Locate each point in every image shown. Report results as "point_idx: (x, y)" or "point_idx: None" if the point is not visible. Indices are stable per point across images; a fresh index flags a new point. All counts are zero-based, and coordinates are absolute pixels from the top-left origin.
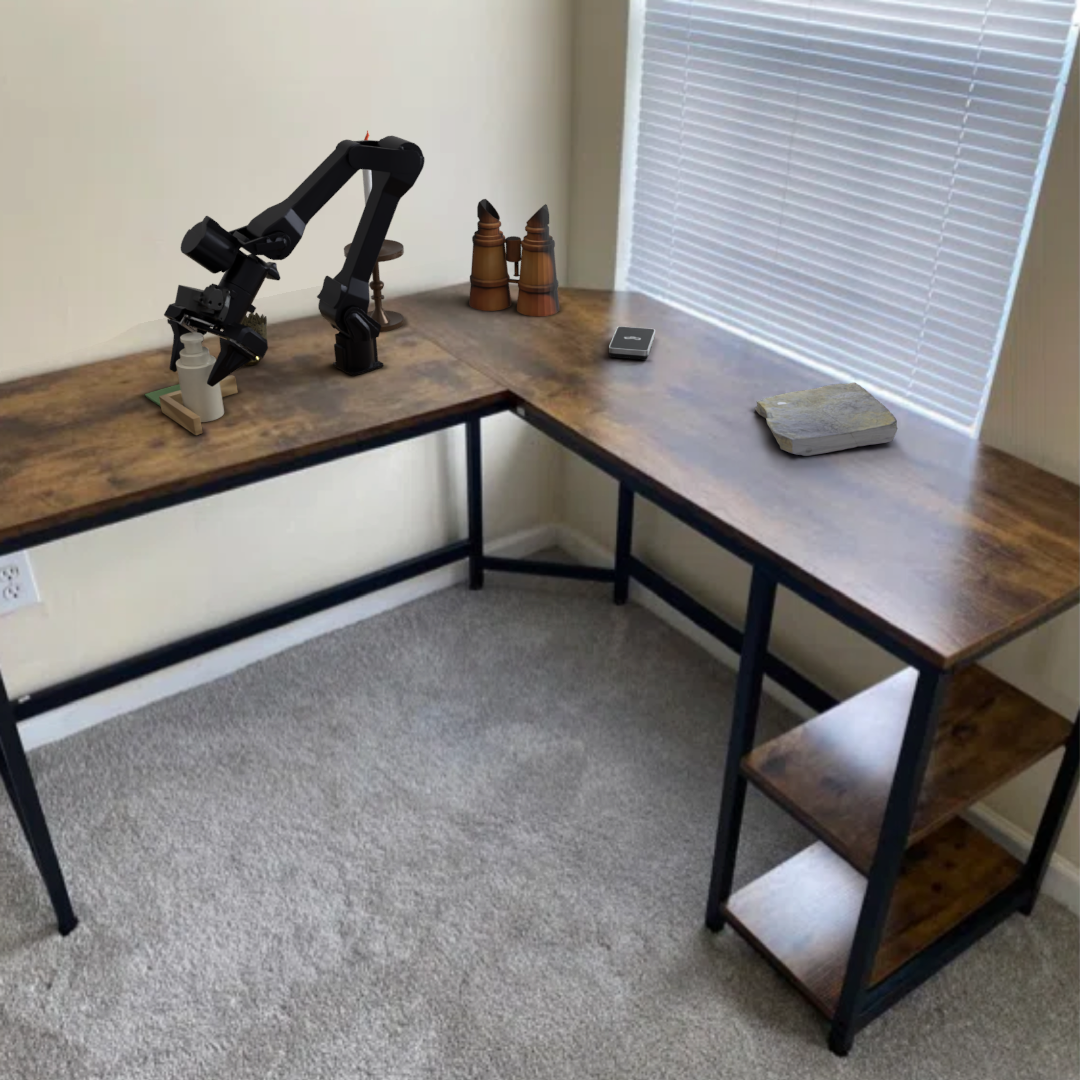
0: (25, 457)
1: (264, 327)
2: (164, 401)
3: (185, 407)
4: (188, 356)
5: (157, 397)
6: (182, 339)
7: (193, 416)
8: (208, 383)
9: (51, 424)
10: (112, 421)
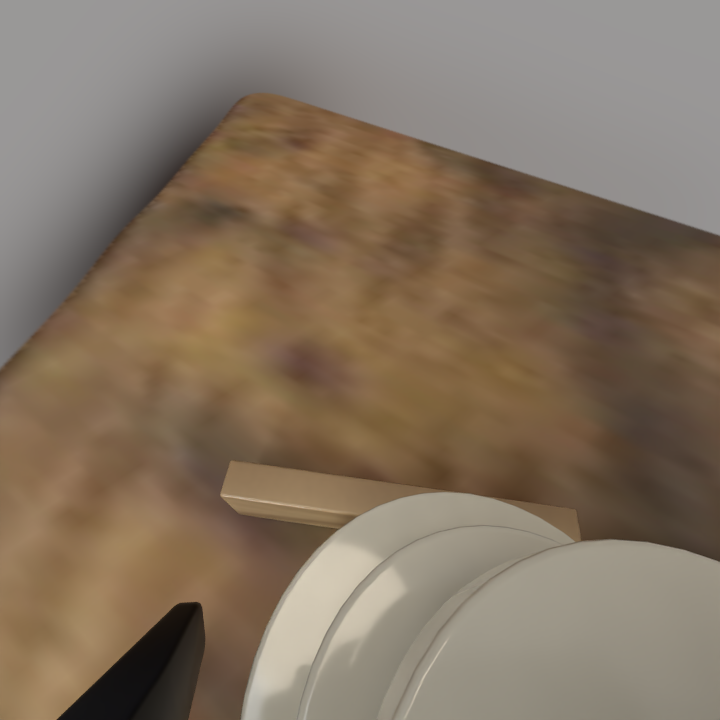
0: (486, 179)
1: None
2: (515, 501)
3: None
4: (393, 557)
5: None
6: (616, 545)
7: (249, 478)
8: (179, 606)
9: (640, 272)
10: (567, 371)
